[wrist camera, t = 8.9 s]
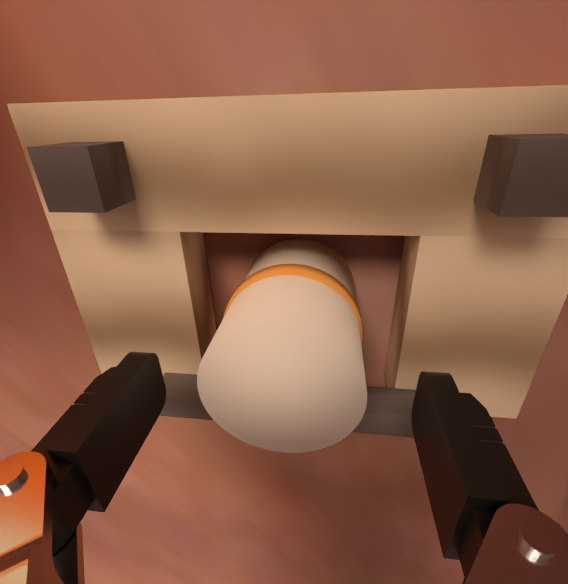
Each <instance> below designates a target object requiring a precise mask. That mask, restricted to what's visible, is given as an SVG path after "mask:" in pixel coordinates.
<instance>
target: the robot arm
mask: <svg viewBox="0 0 568 584" xmlns="http://www.w3.org/2000/svg"><path fill="white" fill-rule="evenodd" d="M165 401H166V386H165V382H164V378H163V374H162V370H161V366H160V362H159V359H158V356H157V355H156V354H155V353H147V352H129V353H128V354H127V355H126V356H125V357H124V358H123V359H122V361H121V362H120V363H119V364H118V365H117V367H111V368H109V369H108V370H107V371H105V372H104V373H102V374H101V375H99V376H98V377H96V378H95V379H94V380H93V382H92V383H91V384H90V385H89V386H88V387H87V388H86V389H85V391H84V394H81V395H80V396H79V397H78V399H77V400H76V401H75V402H74V405H71V406H70V408H69V409H68V410H67V411H66V412H65V413H64V414H63V416H62V417H61V418H60V419H59V420H58V421H57V422H56V424H55V425H54V426H53V427H52V428H51V429H50V430H49V431H48V433H47V434H46V435H45V436H44V437H43V438H42V439H41V441H40V442H39V443H38V444H37V445H36V446H35V447H34V448H33V449H32V450H31V451H30V452H22V453H18V454H15V455H13V456H10V457H8V458H6V459H4V460H2V461H1V462H0V584H85V579H84V557H83V535H82V525H81V523H80V521H81V520H82V518H83V517H84V515H85V513H86V512H87V510H90V511H98V512H105V510H106V508H107V506H108V505H109V503H110V501H111V499H112V498H113V496H114V494H115V492H116V491H117V489H118V487H119V485H120V483H121V482H122V480H123V478H124V476H125V475H126V473H127V471H128V469H129V468H130V466H131V464H132V462H133V461H134V459H135V457H136V455H137V454H138V452H139V450H140V448H141V446H142V445H143V443H144V441H145V439H146V438H147V436H148V434H149V432H150V431H151V429H152V427H153V425H154V424H155V422H156V420H157V418H158V416H159V415H160V413H161V411H162V409H163V407H164V405H165ZM411 422H412V430H413V435H414V439H415V443H416V447H417V451H418V455H419V459H420V463H421V467H422V471H423V476H424V480H425V484H426V488H427V492H428V496H429V500H430V504H431V508H432V512H433V516H434V520H435V524H436V528H437V533H438V537H439V541H440V545H441V549H442V553H443V557H444V558H449V559H457V560H460V563H461V566H462V570H463V574H464V577H465V578H464V580H463V582H462V584H568V534H567V533H566V531H565V530H564V529H563V528H562V527H561V526H560V525H559V524H558V523H556V522H555V521H554V520H553V519H551V518H550V517H549V516H547V515H546V514H544V513H542V512H540V511H539V510H538V508H537V506H536V505H535V503H534V501H533V499H532V497H531V495H530V493H529V491H528V489H527V487H526V485H525V483H524V481H523V479H522V477H521V475H520V474H519V472H518V470H517V468H516V466H515V464H514V462H513V460H512V458H511V456H510V454H509V452H508V450H507V448H506V446H505V444H503V440H502V438H501V436H500V434H499V432H498V430H497V429H495V425H494V423H493V421H492V419H491V417H490V415H489V413H488V411H487V409H486V408H485V407H484V406H483V405H482V404H481V403H480V402H479V401H478V400H477V399H476V398H475V397H474V396H473V395H472V394H471V393H459V390H458V388H457V386H456V384H455V381H454V379H453V377H452V375H451V374H450V373H441V372H426V371H422V372H421V373H420V375H419V379H418V383H417V388H416V392H415V397H414V402H413V406H412V413H411Z"/></svg>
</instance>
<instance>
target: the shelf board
mask: <svg viewBox="0 0 568 584" xmlns="http://www.w3.org/2000/svg"><path fill="white" fill-rule="evenodd" d="M7 106H8V109H9V112H10V115H11V118H12V120H13V123H14V126H15V129H16V132H17V135H18V137H19V140H20V143H21V146H22V149H23V152H24V155H25V157H26V160H27V163H28V166H29V169H30V172H31V174H32V177H33V180H34V183H35V186H36V189H37V192H38V194H39V197H40V200H41V203H42V206H43V209H44V211H45V214H46V217H47V220H48V223H49V226H50V229H51V231H52V234H53V237H54V240H55V243H56V246H57V248H58V251H59V254H60V257H61V260H62V263H63V266H64V268H65V271H66V274H67V277H68V280H69V283H70V285H71V288H72V291H73V294H74V297H75V300H76V302H77V305H78V308H79V311H80V314H81V317H82V320H83V322H84V325H85V328H86V331H87V334H88V337H89V339H90V342H91V345H92V348H93V351H94V354H95V357H96V359H97V362H98V365H99V368H100V371H101V374H102V373H104V372H105V371H107V370H108V369H109V368H111V367H117V365H118V364H119V363H120V362H121V361H122V359H123V358H124V357H125V356H126V355H127V354H128V353H129V352H147V353H155V354H156V355H157V356H158V359H159V362H160V366H161V370H162V374H163V378H164V382H165V386H166V401H165V405H164V407H163V409H162V411H161V413H160V416H172V417H183V418H195V419H207V420H213V419H212V417H211V416H210V415H209V414H208V412H207V411H206V409H205V407H204V406H203V404H202V401H201V399H200V396H199V393H198V388H197V372H198V368H199V365H200V362H201V360H202V358H203V356H204V354H205V352H206V350H207V348H208V346H209V345H210V343H211V341H212V339H213V337H214V335H215V333H216V323H215V316H214V309H213V302H212V294H211V287H210V280H209V273H208V266H207V258H206V251H205V244H204V237H203V232H217V233H277V234H338V235H398V236H405V238H404V245H403V251H402V258H401V265H400V272H399V279H398V285H397V292H396V299H395V306H394V313H393V320H392V326H391V333H390V340H389V347H388V354H387V360H386V367H385V374H384V375H385V380H386V385H387V388H383V387H369V386H366V387H367V405H366V410H365V413H364V415H363V417H362V419H361V421H360V423H359V424H358V426H357V427H356V428H355V429H354V430H353V431H352V432H358V433H370V434H382V435H393V436H405V437H414V435H413V430H412V422H411V413H412V406H413V402H414V397H415V392H416V388H417V383H418V379H419V375H420V373H421V372H422V371H426V372H441V373H450V374H451V375H452V377H453V379H454V381H455V384H456V386H457V388H458V390H459V393H471V394H472V395H473V396H474V397H475V398H476V399H477V400H478V401H479V402H480V403H481V404H482V405H483V406H484V407H485V408H486V409H487V411H488V413H489V415H490V417H501V418H514V419H516V418H517V416H518V414H519V411H520V409H521V406H522V404H523V401H524V399H525V397H526V394H527V392H528V389H529V387H530V384H531V382H532V380H533V377H534V375H535V372H536V370H537V367H538V365H539V363H540V360H541V358H542V355H543V353H544V350H545V348H546V345H547V343H548V341H549V338H550V336H551V333H552V331H553V328H554V326H555V324H556V321H557V319H558V316H559V314H560V311H561V309H562V307H563V304H564V302H565V299H566V297H567V294H568V85H553V86H523V87H493V88H463V89H433V90H404V91H374V92H344V93H314V94H284V95H255V96H225V97H195V98H165V99H135V100H106V101H76V102H46V103H16V104H7Z"/></svg>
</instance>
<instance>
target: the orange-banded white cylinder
mask: <svg viewBox="0 0 568 584" xmlns="http://www.w3.org/2000/svg"><path fill="white" fill-rule="evenodd" d="M362 341H363V331H362V324H361V316H360V311H359V308H358V305H357V303H356V296H355V288H354V281H353V276H352V273H351V271H350V269H349V267H348V265H347V264H346V262H345V261H344V259H343V258H342V257H341V256H340V255H339V254H338V253H337V252H336V251H334V250H333V249H331V248H330V247H328V246H326V245H324V244H322V243H320V242H317V241H313V240H309V239H289V240H284V241H280V242H277V243H275V244H273V245H271V246H269V247H268V248H266V249H265V250H264V251H263V252H261V253H260V254H259V255H258V257H257V258H256V259H255V261H254V262H253V264H252V265H251V267H250V269H249V271H248V273H247V275H246V277H245V279H244V280H243V282H242V283H241V284H240V285H239V286H238V288H237V289H236V291H235V292H234V294H233V296H232V298H231V299H230V301H229V303H228V305H227V307H226V310H225V313H224V316H223V320H222V322H221V324H220V326H219V328H218V329H217V331H216V333H215V335H214V337H213V339H212V341H211V343H210V345H209V346H208V348H207V350H206V352H205V354H204V356H203V358H202V360H201V362H200V365H199V368H198V372H197V388H198V393H199V396H200V399H201V401H202V404H203V406H204V407H205V409H206V411H207V412H208V414H209V415H210V416H211V417H212V419H213V420H214V421H215V422H216V423H217V424H218V425H219V426H220V427H221V428H223V429H224V430H225V431H226V432H228V433H229V434H231V435H232V436H234V437H235V438H237V439H239V440H241V441H243V442H245V443H247V444H250V445H252V446H255V447H258V448H261V449H265V450H269V451H275V452H282V453H303V452H311V451H316V450H320V449H323V448H326V447H329V446H331V445H333V444H335V443H337V442H339V441H341V440H342V439H344V438H345V437H347V436H348V435H349V434H350V433H351V432H352V431H353V430H354V429H355V428H356V427H357V426H358V424H359V423H360V421H361V419H362V417H363V415H364V413H365V410H366V405H367V387H366V379H365V370H364V362H363V354H362Z"/></svg>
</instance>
